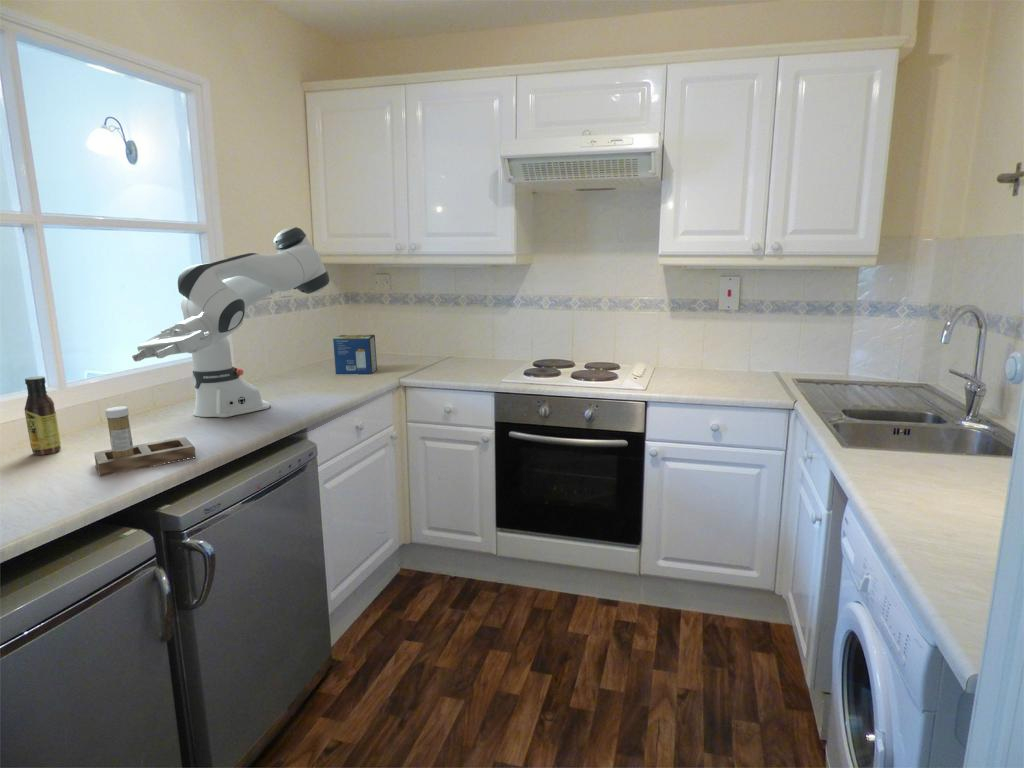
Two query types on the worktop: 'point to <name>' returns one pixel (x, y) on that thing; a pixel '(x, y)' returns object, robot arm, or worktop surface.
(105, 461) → the spice caddy
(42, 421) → the sauce bottle
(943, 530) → the worktop surface
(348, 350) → the protein box
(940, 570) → the worktop surface
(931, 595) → the worktop surface
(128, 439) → the sprinkles bottle
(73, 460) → the worktop surface
